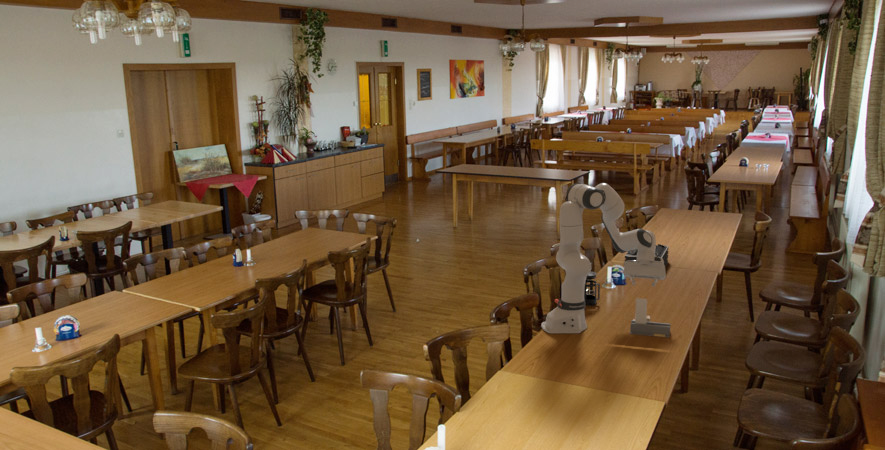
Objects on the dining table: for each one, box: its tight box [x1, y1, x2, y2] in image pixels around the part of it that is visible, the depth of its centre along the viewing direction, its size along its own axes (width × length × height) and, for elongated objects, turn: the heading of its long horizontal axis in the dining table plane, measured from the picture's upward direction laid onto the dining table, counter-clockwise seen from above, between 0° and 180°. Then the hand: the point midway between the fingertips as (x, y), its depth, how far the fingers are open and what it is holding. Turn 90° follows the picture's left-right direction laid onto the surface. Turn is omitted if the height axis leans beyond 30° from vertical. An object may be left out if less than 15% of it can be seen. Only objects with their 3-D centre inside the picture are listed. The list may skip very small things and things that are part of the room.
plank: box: [634, 297, 648, 324], centre depth 321 cm, size 5×2×16 cm, turn 70°
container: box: [624, 243, 669, 267], centre depth 430 cm, size 22×35×13 cm, turn 154°
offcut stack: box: [632, 315, 651, 322], centre depth 327 cm, size 8×5×5 cm, turn 70°
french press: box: [584, 261, 601, 307], centre depth 364 cm, size 12×9×23 cm
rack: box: [629, 319, 671, 338], centre depth 322 cm, size 18×14×5 cm
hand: (643, 285), depth 330 cm, fingers open, 8 cm apart
